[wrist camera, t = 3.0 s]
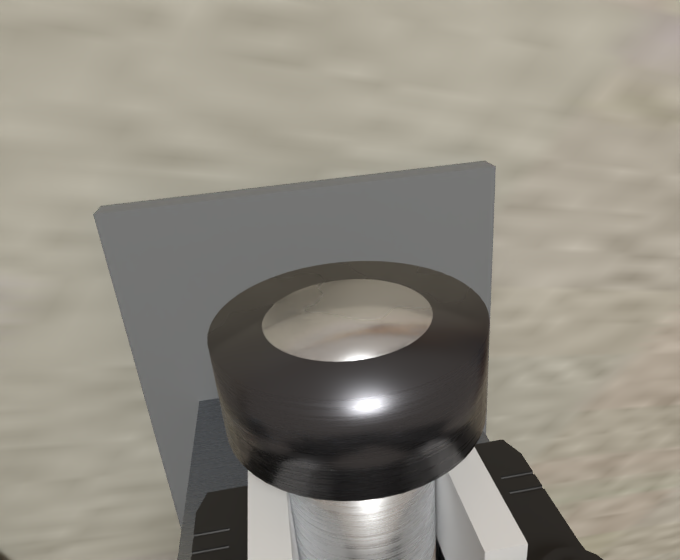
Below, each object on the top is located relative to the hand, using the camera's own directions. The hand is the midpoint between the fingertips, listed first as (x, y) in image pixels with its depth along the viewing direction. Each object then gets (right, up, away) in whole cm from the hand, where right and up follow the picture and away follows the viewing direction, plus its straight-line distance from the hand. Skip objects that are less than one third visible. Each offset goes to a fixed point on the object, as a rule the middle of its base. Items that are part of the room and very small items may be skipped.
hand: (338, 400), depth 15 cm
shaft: (+1, -7, +2) cm, 8 cm away
